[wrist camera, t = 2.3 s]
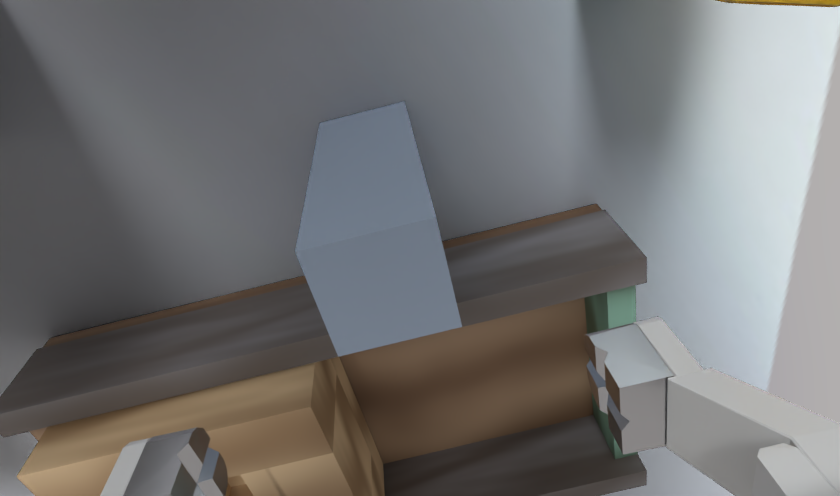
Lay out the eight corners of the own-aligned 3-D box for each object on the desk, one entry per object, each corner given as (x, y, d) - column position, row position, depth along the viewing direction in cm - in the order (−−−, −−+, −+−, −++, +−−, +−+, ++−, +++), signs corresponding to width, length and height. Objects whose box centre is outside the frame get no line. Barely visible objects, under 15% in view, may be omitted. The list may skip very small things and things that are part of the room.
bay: (47, 334, 25) (-16, 417, 21) (596, 199, 24) (646, 257, 20) (184, 509, 33) (158, 596, 28) (607, 410, 32) (646, 484, 28)
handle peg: (319, 122, 21) (294, 251, 13) (404, 101, 21) (435, 216, 13) (345, 199, 23) (338, 356, 15) (423, 179, 23) (462, 326, 15)
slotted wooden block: (84, 368, 25) (16, 477, 20) (319, 310, 25) (310, 406, 20) (191, 508, 31) (160, 619, 26) (383, 463, 31) (388, 566, 26)
